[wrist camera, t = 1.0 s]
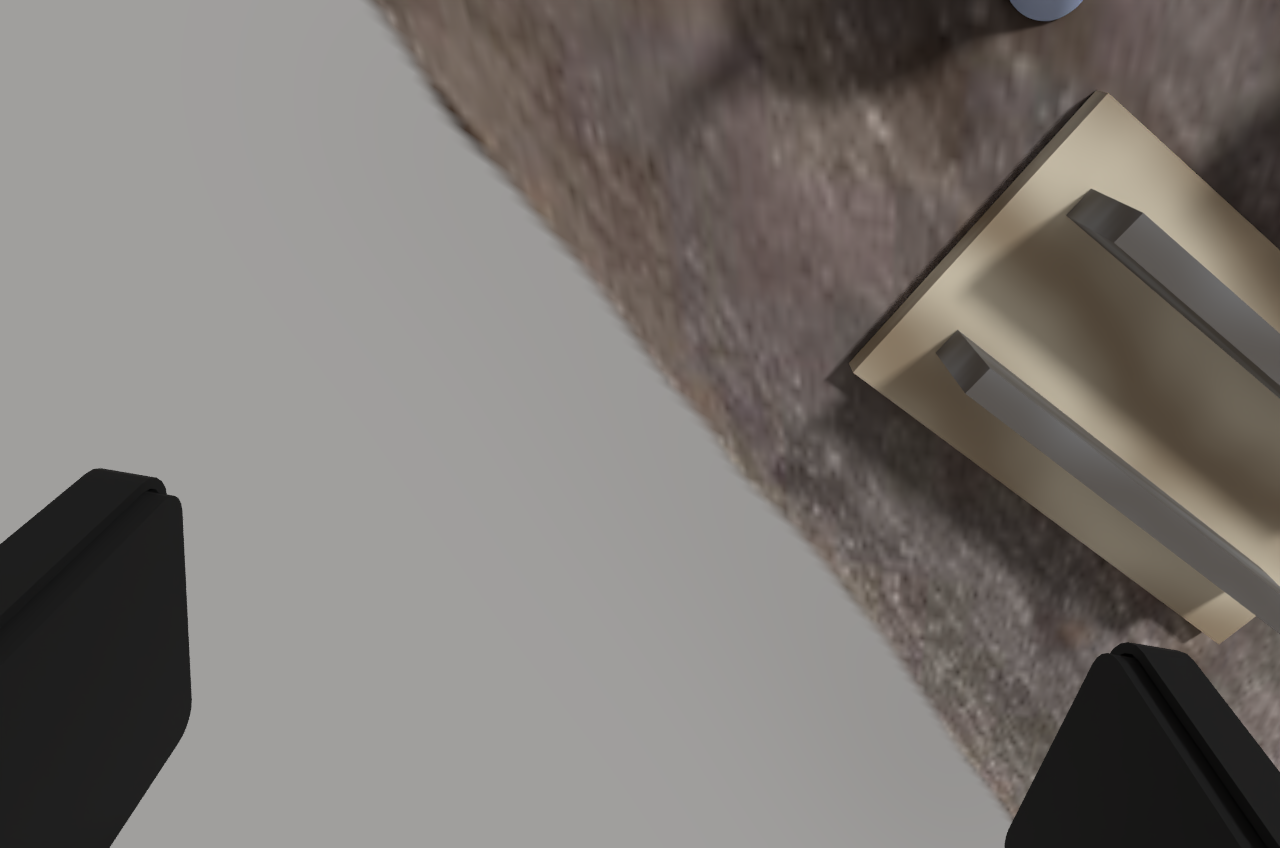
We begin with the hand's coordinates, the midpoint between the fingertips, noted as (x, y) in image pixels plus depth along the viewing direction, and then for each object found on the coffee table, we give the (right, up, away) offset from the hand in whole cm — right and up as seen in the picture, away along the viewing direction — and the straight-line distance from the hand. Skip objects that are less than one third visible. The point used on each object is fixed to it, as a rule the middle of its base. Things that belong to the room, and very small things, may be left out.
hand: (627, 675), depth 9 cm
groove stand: (+21, +4, +28) cm, 35 cm away
